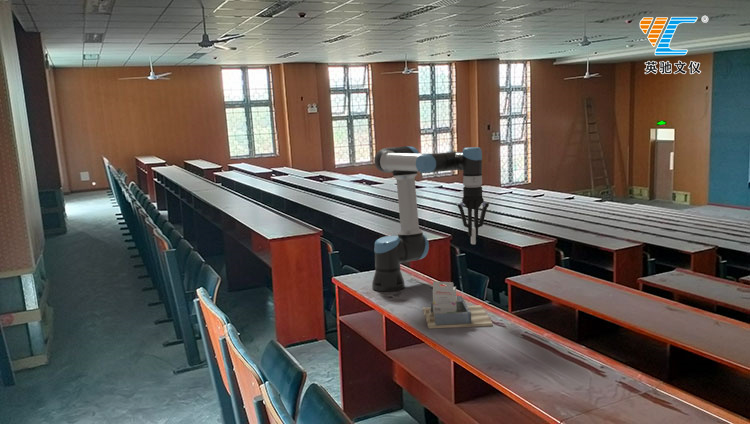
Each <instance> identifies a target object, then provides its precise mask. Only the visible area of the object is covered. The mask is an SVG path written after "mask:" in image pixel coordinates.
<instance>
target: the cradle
mask: <svg viewBox="0 0 750 424" xmlns="http://www.w3.org/2000/svg"><path fill="white" fill-rule="evenodd" d="M467 307H468V308H469V310H470V312H471V323H467V324H444V325H435V318H434V317H433V312H431V307H422V311H423V316H424V318H425V320H426V325H427V328H428V329H444V328H445V329H449V328H470V327H474V328H475V327H490V326H491V327H492V326H493V321H492V320H491V318H490V317H489V315H488V314H487V312H486V311H485V309H484V308H483V307H484V306H482V305H479V304H478V305H477V304H476V305H467ZM457 313H463V312H462V311H457Z"/></svg>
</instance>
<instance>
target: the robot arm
mask: <svg viewBox="0 0 750 424" xmlns="http://www.w3.org/2000/svg"><path fill="white" fill-rule="evenodd" d="M482 151H483V150H482V148H480V147H479V146H477V147H475V146H472V147H471V146H470V147H464V148H462V151H455V150H453V151H451V150H450V151H446V152H438V153H420V152H419V150H418V149H417V148H416V147H415V146H406V145H404V146H396V147H394V146H393V147H385V148H381V149H380V150H379V151H377V152H376V154H375V155H374V158H373V162H374V166H375V168H376V169H377V170H378V171H379V172H381V173H385V174H390V173H392V177H393V178H395V180H396V189H397V200H398V212H399V225H400V231H399V232H397V233H398V234H397V235H398V236H397V235H389V236H388V235H387V236H382V237H380V238H378V239H376V240H375V242H374V248H373V250H374V268H375V272H374V275H373V279H372V283H371V287H372V289H373V290H375V291H377V292H378V291H379V292H387V293H388V292H396V291H397V292H398V291H401V290H403V289H404V288H405V286H406V285H405V280H404V278H403V277H404V276H403V273H402V271H401V264H403V263H408V262H413V261H419V260H422V259H424V258H426V257H427V255H428V252H429V249H430V244H429V239H428V238H427V236H426V235H425V234H424V233H423V231H422V229H420V225H419V214H418V211H419V210H418V202H417V201H418V200H417V191H416V177H417V176H418V172H419V173H421V174H431V173H439V172H449V171H450V172H451V171H462V173H463V174H462V185H463V188H462V189H463V190H462V192H463V194H462V195H463V196H462V199H461V202H459V203H456V206H457V208H458V209H459V213H460V216H461V220H462V224H463V227H465V228H468V229H467V232H468V233H467V234H468V236H469V237H470V244H471V245H476V243H477V239H476V237H477V236H479V228H480V227H483V226H484V225H483V224H484V222H485V218H486V212H487V209H488V207H489V205H490V203H489V202H487V201H485V200H484V197H483V187H482V186H483V152H482ZM481 206H482V209H481V212H480V217H479V208H480V207H481ZM464 207H465V208H466V209H467V219H466V214H465V211H464ZM473 225H474V227H473Z"/></svg>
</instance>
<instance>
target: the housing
mask: <svg viewBox="0 0 750 424" xmlns="http://www.w3.org/2000/svg"><path fill="white" fill-rule="evenodd" d="M429 303H430V305H429V306H430V307H431V312H433V301H430V302H429ZM456 306H457V311H462V312H463V313H441V314H435V325H444V324H467V323H471V312H470V310H469V308H468V307H467V306H468V305H467V303H466V301H465V300H464V298H463V296H462V295H456Z"/></svg>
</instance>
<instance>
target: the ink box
mask: <svg viewBox="0 0 750 424" xmlns="http://www.w3.org/2000/svg"><path fill="white" fill-rule="evenodd" d="M443 285H444V286H443ZM456 301H457V286H454V282H453V281H452V282H451V281H432V302H433V317H434V318H435V314H441V313H457V306H456Z"/></svg>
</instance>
